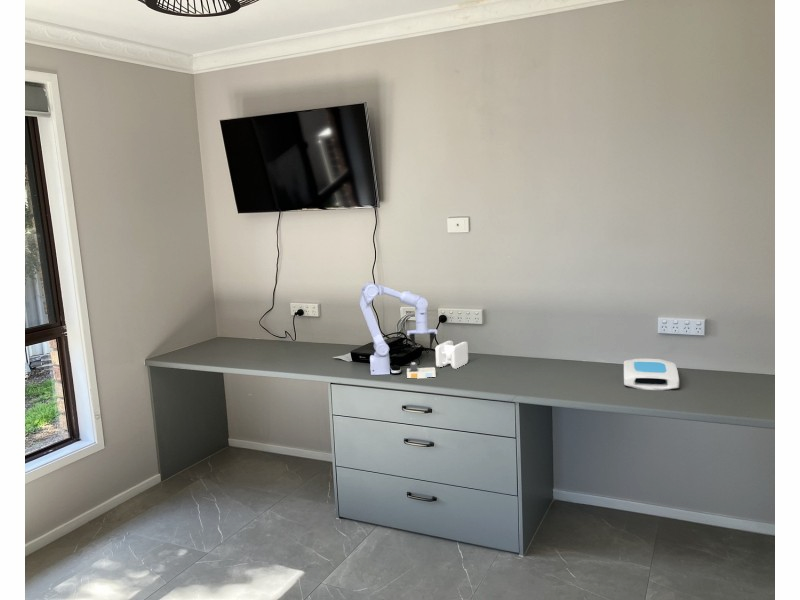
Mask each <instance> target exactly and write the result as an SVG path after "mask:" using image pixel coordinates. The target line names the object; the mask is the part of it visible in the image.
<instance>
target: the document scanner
mask: <svg viewBox="0 0 800 600" xmlns="http://www.w3.org/2000/svg"><path fill="white" fill-rule="evenodd" d="M636 379H659V380H664V381H665V383H641V382H636ZM623 385H624V386H627V387H630V388H633V389H637V390H646V391H648V390H649V391H650V390H651V391H666V390H673V389H678V388H680V377H679V371H678V369H677V365H676V363H675V362H672V361H669V360H666V359H665V360H664V359H661V358H643V357H641V358H632V359H628V360H627V359H626V360H624V361H623Z"/></svg>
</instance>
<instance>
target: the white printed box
mask: <svg viewBox="0 0 800 600" xmlns="http://www.w3.org/2000/svg"><path fill="white" fill-rule="evenodd" d="M436 374H437V373H436V367H417V372H411V369H410V368H409V367H408V368H406V378H417V379H428V378H427V377H437V375H436Z"/></svg>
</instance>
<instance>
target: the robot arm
mask: <svg viewBox="0 0 800 600" xmlns="http://www.w3.org/2000/svg"><path fill="white" fill-rule="evenodd" d="M360 291H361V292H360V297H359V302H358V304H359V307H360V310H361V312H362V314H363V315H362V316H363V317H364V319H365V323H366V325H367V328H368V330H369V333H370V336H371V338H372V342H373V348H374V350H375V351H374V353H373V354H371V355H370V356H369V362H370V364H369V365H370V367H369V369H370V370H369V371H370V376H378V375H379V376H381V375H383V376H384V375H391V374H390V369H391V367H390V366H391V365H390V353H389V351H390V347H389V345H388V344H387V342H386V341H385V339H384V337H383V336H382V333H381V329H380V328H379V326H378V323H377V319H376V317H375V315H374V312H373V310H372V308H371V304H372V302H373V300H374V299H375V298H376V297H377V296H382V295H387V296H389V297H393V298H395V299H399V301H400V303H401V304H405V305H407V306H410V307H415V308H414V309H415V310H414V311H415V312H414V313H415V329H412V330H407V331H406V336H409V339H410V340H411V342H412V345H413V350H415V351H416V335H429V349H430V350H432V349H433V348H432V346H433V342H434V339H435V337H436V335H438V329H434V328H432V329H431V328H429V327H428V322H429V321H428V311H427V310H428V309H427V308H428V306H429V303H428V300H427V298H424V297H423V296H422V295H420V294H414V293H411V291H410V290H407V291H406V290H405V291H401V292H400V291H398V290H396V289H393V288H391V287H388V286H385V285H382V284H380V283H373V282H370V281H368V282H366V283H364V285H363V286H362V288H361V290H360Z"/></svg>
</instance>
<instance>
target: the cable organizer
mask: <svg viewBox="0 0 800 600" xmlns="http://www.w3.org/2000/svg"><path fill="white" fill-rule="evenodd" d="M468 345H469V343H468V341H462V342H459V343H458V344H457V343H456V344H455V345H454V342H453V341H452V340H447V341H444V342H441V343H440V344H437V345H436V346H435V348H434V349H435V350H434V351H435V366H436V367H437V368H440V367H442V368H444V367H445V366H447V365H449V364H450V366H451V367H452V369H454V370H458V369H460V368H461V367H464V366H465V364H466V365H467V364H468V362H469V348H468V347H469V346H468ZM463 365H464V366H463ZM443 366H444V367H443ZM459 367H460V368H459ZM457 368H458V369H457Z"/></svg>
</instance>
